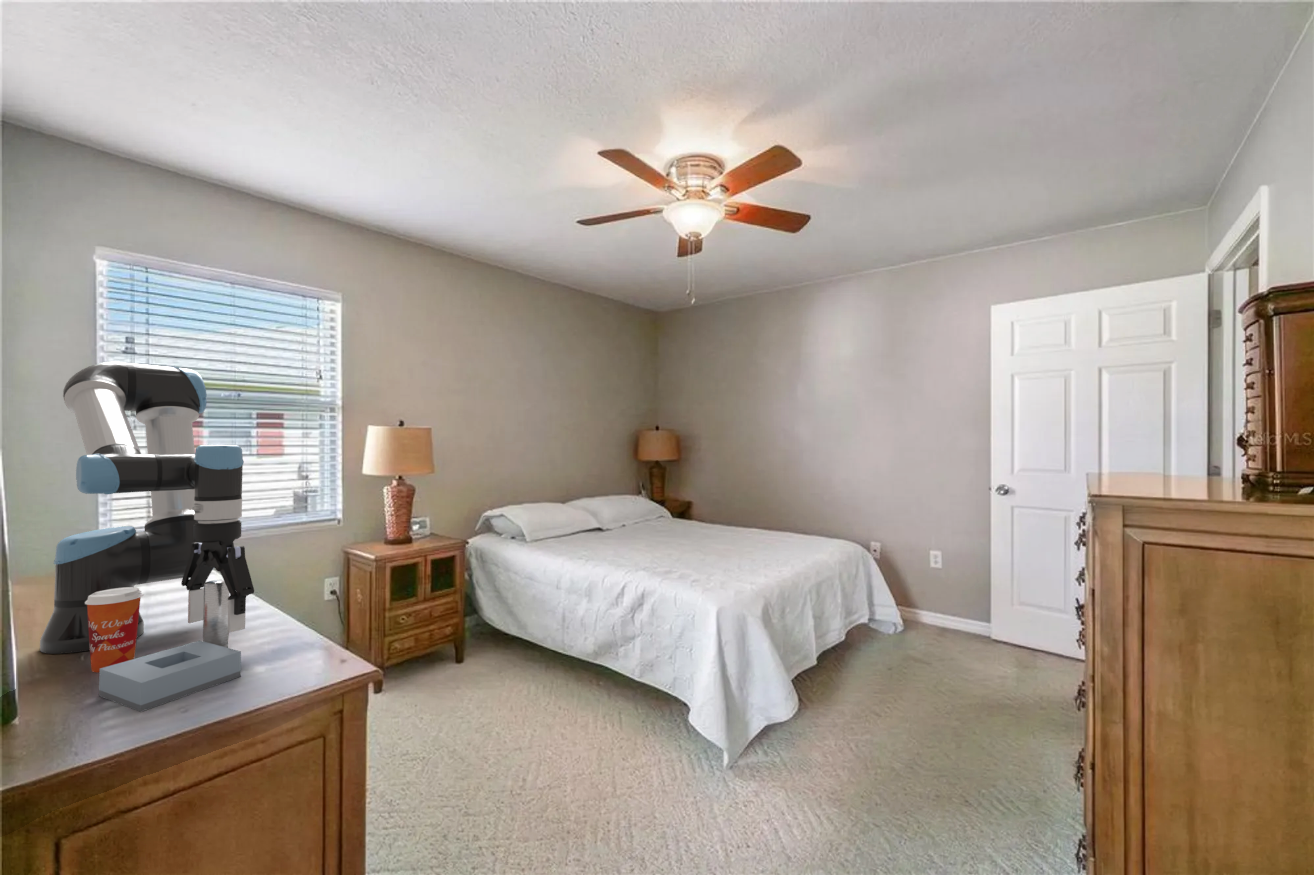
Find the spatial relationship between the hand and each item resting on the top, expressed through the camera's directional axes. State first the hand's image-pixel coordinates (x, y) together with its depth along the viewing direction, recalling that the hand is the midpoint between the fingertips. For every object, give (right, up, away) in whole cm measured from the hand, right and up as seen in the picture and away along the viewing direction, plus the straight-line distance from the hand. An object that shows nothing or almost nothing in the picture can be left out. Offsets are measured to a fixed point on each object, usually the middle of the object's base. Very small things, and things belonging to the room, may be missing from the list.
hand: (216, 625), depth 107 cm
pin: (0, -5, 0) cm, 5 cm away
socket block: (+5, -5, -15) cm, 17 cm away
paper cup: (-13, -5, -8) cm, 16 cm away
